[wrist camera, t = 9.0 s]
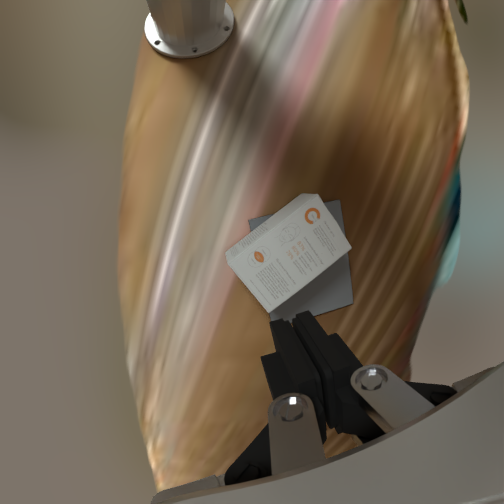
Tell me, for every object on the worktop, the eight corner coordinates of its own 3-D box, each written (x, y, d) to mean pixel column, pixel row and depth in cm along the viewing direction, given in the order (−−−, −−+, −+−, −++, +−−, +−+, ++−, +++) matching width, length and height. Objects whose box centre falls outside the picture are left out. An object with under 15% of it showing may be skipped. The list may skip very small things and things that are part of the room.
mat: (248, 219, 39) (248, 220, 38) (338, 199, 40) (339, 199, 39) (272, 326, 43) (272, 327, 42) (351, 302, 44) (353, 303, 43)
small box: (260, 296, 41) (333, 239, 40) (268, 315, 35) (353, 248, 34) (223, 251, 39) (302, 191, 38) (226, 263, 33) (319, 193, 32)
